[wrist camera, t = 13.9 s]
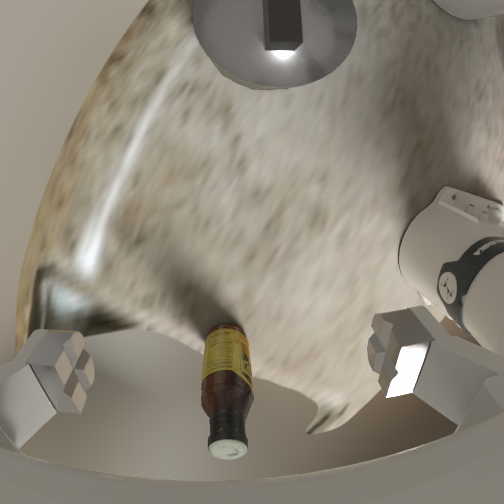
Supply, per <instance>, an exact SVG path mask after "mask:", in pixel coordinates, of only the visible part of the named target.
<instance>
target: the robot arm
mask: <svg viewBox="0 0 504 504" xmlns="http://www.w3.org/2000/svg"><path fill="white" fill-rule="evenodd" d="M453 195H454V197H453V199H452V196H453ZM399 265H400V270H401V273H402V276H403V278H404V279H405V281H406V282H407V283H408V284H409V285H410V286H411V287H413V288H414V289H416V290H417V291H418V292H419V295H420V297H421V299H422V301H423V302H425V303H426V304H427V305H431V304H433V305H434V306H435V307H436V308H438V309H439V310H440V311H441V312H442V313H444V314H445V315H446V316H447V317H448V318H450V319H452V320H454V321H455V323H456V324H457V325H458V326H459V327H460V328H461V329H463V330H464V331H465V332H466V333H469V334H472V335H473V336H474V337H475V339H476V340H477V341H478V342H479V343H480V344H481V346H482V347H483V348H482V347H480V346H477V345H475V344H473V343H470V342H468V341H466V340H464V339H461V338H459V337H457V336H453V337H451V336H450V335H449V334H448V333H447V332H446V330H445V329H444V328H443V327H442V326H441V324H440V323H439V322H438V321H437V320H436V319H435V318H434V316H433V315H432V314H431V313H430V312H429V311H428V310H427V308H426V307H424V306H416V307H411V308H407V309H403V310H397V311H391V312H385V313H378V314H375V315H374V317H373V320H372V325H371V327H372V328H373V330H374V334H373V335H372V336H371V337H370V338H369V341H368V347H367V352H368V360H369V364H370V366H371V368H372V370H373V371H375V372H376V373H378V374H380V376H379V380H378V382H379V384H380V386H381V388H382V390H383V392H384V394H385V396H386V398H388V397H392V396H397V395H401V394H406V393H410V392H413V394H415V395H416V396H417V397H419V398H420V399H422V400H423V401H425V402H426V403H427V404H429V405H430V406H432V407H433V408H434V409H436V410H437V411H439V412H440V413H442V414H443V415H444V416H446V417H447V418H449V419H450V420H451V421H453V422H454V423H456V424H457V425H459V426H458V427H457V429H456V431H455V432H454V434H452V435H449V436H447V437H444V438H441V439H439V440H436V441H433V442H430V443H427V444H425V445H422V446H419V447H416V448H413V449H409V450H406V451H403V452H400V453H396V454H393V455H389V456H386V457H382V458H379V459H374V460H370V461H367V462H363V463H358V464H353V465H349V466H344V467H339V468H334V469H329V470H323V471H317V472H311V473H304V474H297V475H290V476H281V477H272V478H261V479H247V480H223V481H187V480H165V479H150V478H140V477H129V476H122V475H114V474H107V473H101V472H95V471H89V470H84V469H79V468H74V467H69V466H64V465H60V464H55V463H51V462H48V461H44V460H40V459H36V458H33V457H29V456H26V455H24V454H23V453H22V452H21V451H20V450H19V448H20V447H21V446H22V445H23V444H24V443H25V442H26V441H27V440H28V439H29V438H30V437H31V436H32V435H33V434H35V433H36V432H37V431H38V430H39V429H40V428H41V427H42V426H43V425H44V424H45V423H46V422H47V421H48V420H49V419H50V418H51V417H52V416H53V415H54V414H56V411H59V412H68V413H77V414H81V411H82V408H83V406H84V403H85V401H86V399H87V396H86V393H85V391H86V390H87V389H88V388H90V387H91V386H92V383H93V381H94V373H95V368H94V364H93V360H92V358H91V355H90V354H89V353H87V352H86V351H85V350H84V347H85V344H86V343H85V340H84V338H83V336H82V334H81V333H79V332H78V331H61V330H42V329H38V330H35V331H34V332H33V333H32V334H31V336H30V337H29V339H28V340H27V341H26V343H25V344H24V346H23V347H22V348H21V350H20V351H19V353H18V354H17V356H16V357H15V358H14V360H13V362H7V363H6V364H4V365H2V366H0V504H504V206H503V205H501V204H499V203H497V202H494V201H491V200H488V199H485V198H483V197H480V196H477V195H474V194H471V193H468V192H465V191H462V190H458V189H455V188H452V187H449V186H445V187H443V188H442V189H441V190H440V191H439V193H438V194H437V196H436V198H435V199H434V201H433V202H432V203H431V204H430V205H429V206H428V207H427V208H425V209H424V210H423V211H421V212H420V213H419V214H418V215H417V216H416V217H415V219H414V220H413V221H412V222H411V224H410V225H409V227H408V229H407V231H406V233H405V235H404V237H403V240H402V243H401V247H400V253H399Z"/></svg>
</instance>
